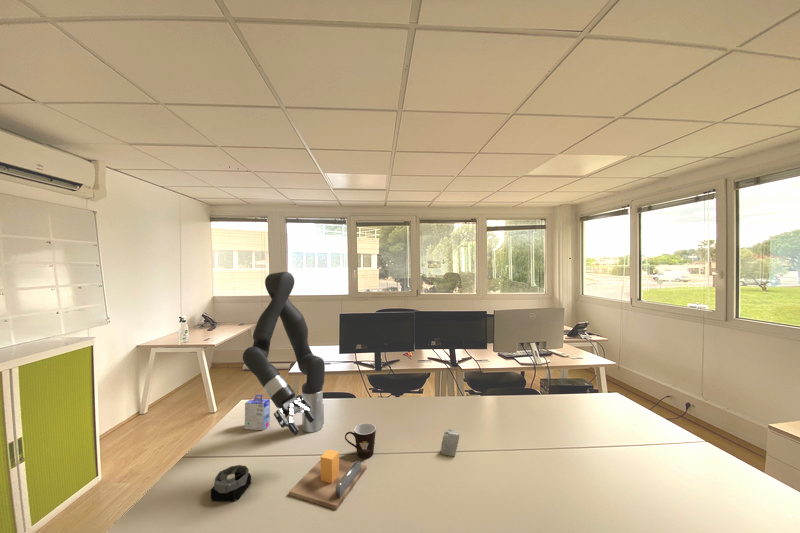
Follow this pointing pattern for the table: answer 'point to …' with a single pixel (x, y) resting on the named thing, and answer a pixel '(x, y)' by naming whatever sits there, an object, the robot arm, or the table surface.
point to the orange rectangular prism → (329, 466)
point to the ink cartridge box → (257, 413)
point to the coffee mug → (364, 439)
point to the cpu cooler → (231, 483)
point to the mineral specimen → (450, 442)
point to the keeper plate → (329, 484)
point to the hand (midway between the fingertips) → (305, 426)
